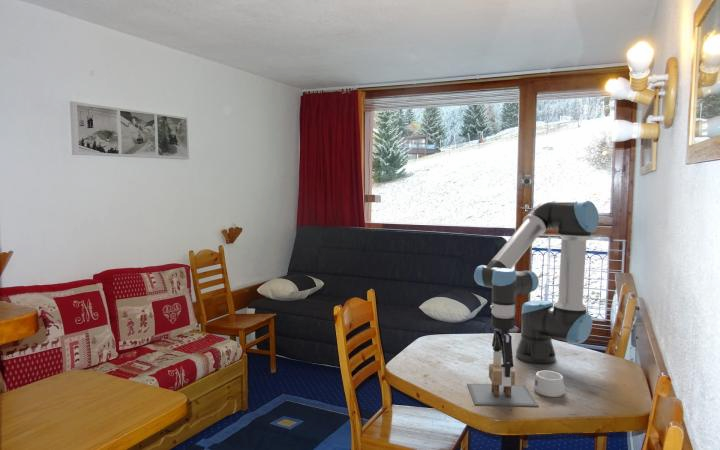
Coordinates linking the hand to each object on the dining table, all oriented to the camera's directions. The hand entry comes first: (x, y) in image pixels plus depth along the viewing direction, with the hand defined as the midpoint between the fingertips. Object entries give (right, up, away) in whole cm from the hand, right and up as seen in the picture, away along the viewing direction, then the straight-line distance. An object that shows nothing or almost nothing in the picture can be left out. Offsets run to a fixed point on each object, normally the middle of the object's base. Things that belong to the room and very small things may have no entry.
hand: (501, 377), depth 166 cm
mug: (+17, -6, +5) cm, 19 cm away
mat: (0, -6, +1) cm, 6 cm away
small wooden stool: (0, -6, +1) cm, 6 cm away
